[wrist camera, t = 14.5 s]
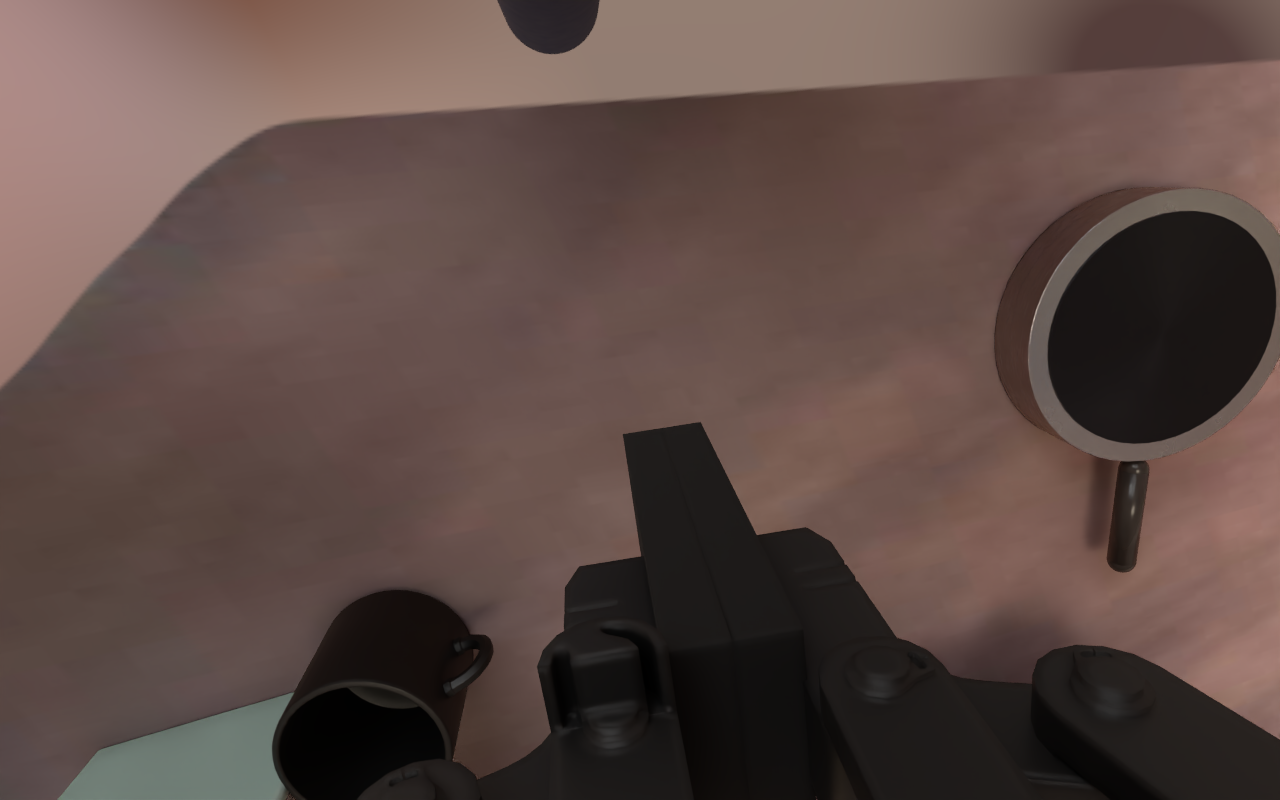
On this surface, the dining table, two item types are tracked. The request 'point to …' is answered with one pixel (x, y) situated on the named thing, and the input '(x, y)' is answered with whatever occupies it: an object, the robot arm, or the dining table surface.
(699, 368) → the dining table surface
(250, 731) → the green magazine holder
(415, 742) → the mug
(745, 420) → the dining table surface
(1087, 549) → the dining table surface
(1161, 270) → the pan
